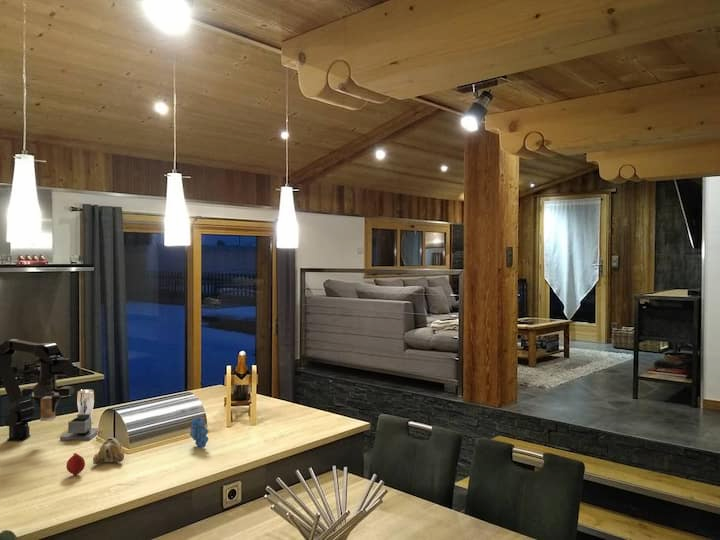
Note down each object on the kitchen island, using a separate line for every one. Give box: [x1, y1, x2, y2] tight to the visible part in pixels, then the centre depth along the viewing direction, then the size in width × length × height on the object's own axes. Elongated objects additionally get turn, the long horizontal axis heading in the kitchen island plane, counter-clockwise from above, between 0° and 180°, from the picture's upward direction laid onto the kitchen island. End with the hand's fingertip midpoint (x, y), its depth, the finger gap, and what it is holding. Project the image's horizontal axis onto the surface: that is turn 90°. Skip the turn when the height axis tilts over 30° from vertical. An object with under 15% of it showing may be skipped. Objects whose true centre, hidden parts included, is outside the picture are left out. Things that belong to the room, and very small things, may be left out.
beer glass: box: [76, 389, 95, 425], centre depth 264 cm, size 7×7×15 cm
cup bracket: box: [59, 412, 99, 441], centre depth 247 cm, size 12×12×8 cm
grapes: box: [189, 415, 209, 448], centre depth 235 cm, size 12×7×12 cm, turn 44°
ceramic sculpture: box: [92, 435, 125, 465], centre depth 218 cm, size 11×9×15 cm
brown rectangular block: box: [39, 395, 57, 422], centre depth 238 cm, size 4×4×9 cm
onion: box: [66, 452, 86, 476], centre depth 203 cm, size 6×6×8 cm
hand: (48, 412), depth 238 cm, fingers closed on brown rectangular block, 4 cm apart
